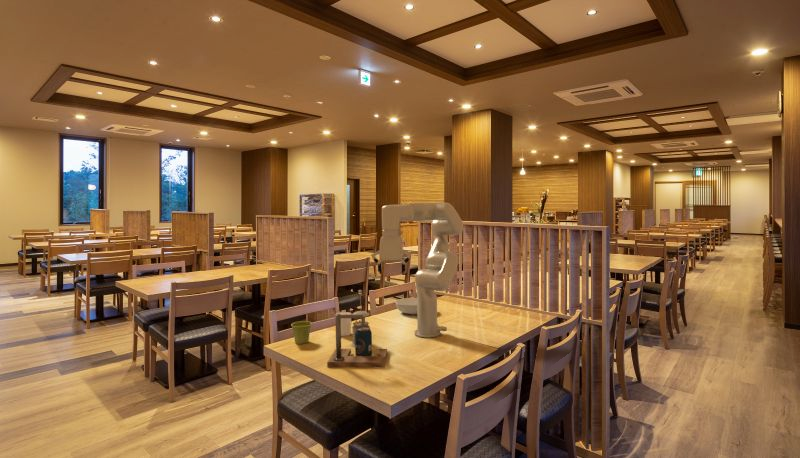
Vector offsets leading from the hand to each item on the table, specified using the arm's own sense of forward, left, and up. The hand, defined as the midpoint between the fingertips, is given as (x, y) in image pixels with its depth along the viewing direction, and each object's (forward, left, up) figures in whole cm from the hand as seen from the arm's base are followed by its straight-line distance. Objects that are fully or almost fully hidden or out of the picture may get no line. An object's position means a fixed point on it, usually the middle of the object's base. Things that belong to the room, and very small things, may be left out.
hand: (391, 273), depth 187 cm
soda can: (+11, +10, -33) cm, 37 cm away
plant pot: (+43, -9, -33) cm, 55 cm away
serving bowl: (-7, -65, -34) cm, 73 cm away
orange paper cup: (+26, -22, -33) cm, 48 cm away
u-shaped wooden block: (+13, +14, -33) cm, 38 cm away
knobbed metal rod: (+16, +19, -31) cm, 40 cm away
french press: (+15, -5, -33) cm, 37 cm away
